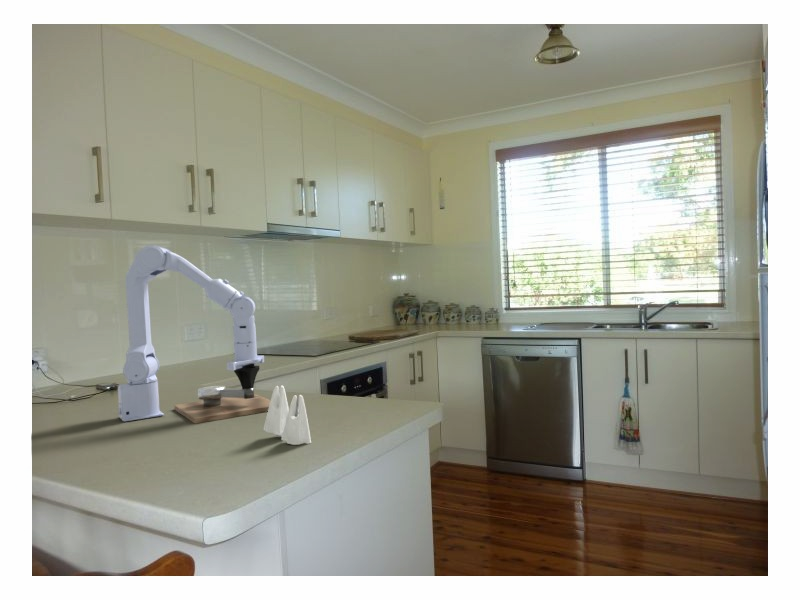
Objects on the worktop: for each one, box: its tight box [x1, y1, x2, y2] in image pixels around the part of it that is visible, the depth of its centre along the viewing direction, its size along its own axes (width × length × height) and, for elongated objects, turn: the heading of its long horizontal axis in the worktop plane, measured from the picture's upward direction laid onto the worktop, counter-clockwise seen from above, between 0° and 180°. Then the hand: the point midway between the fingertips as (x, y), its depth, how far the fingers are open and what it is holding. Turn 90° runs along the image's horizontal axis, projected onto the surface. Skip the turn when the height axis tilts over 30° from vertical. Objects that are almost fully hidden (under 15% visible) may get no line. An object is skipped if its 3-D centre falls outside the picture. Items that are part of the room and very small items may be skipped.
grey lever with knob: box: [197, 385, 255, 401], centre depth 149 cm, size 16×7×2 cm, turn 71°
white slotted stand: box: [263, 385, 312, 446], centre depth 115 cm, size 12×4×11 cm, turn 45°
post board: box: [173, 393, 271, 425], centre depth 149 cm, size 22×22×3 cm
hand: (248, 393), depth 149 cm, fingers closed
